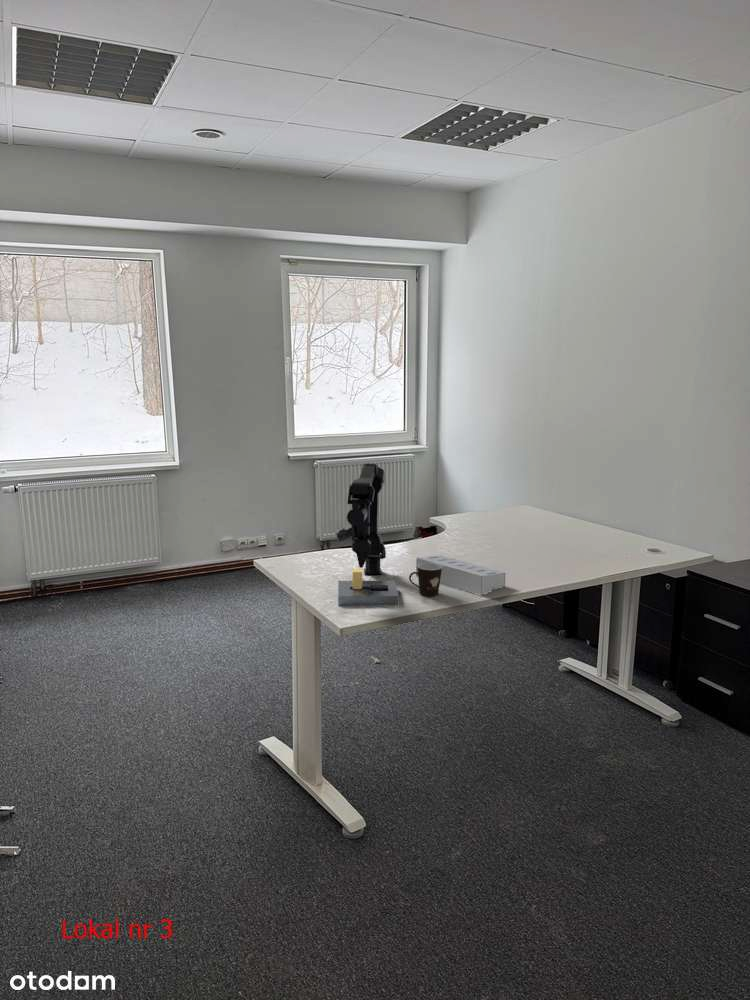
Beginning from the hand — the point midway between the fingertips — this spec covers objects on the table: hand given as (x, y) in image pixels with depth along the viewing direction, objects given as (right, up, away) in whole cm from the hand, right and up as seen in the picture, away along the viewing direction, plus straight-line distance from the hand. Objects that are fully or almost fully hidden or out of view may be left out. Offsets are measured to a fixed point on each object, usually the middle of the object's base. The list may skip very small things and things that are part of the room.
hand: (360, 563), depth 237 cm
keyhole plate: (+2, -12, +2) cm, 12 cm away
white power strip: (+36, -9, +20) cm, 42 cm away
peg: (-1, -12, +1) cm, 12 cm away
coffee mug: (+22, -11, +5) cm, 25 cm away
